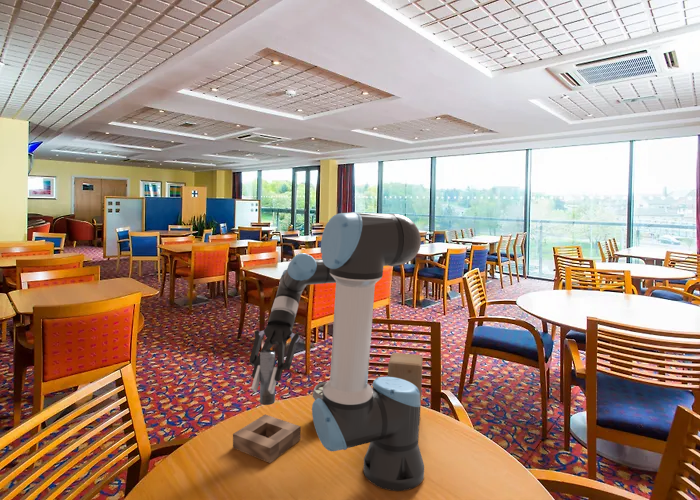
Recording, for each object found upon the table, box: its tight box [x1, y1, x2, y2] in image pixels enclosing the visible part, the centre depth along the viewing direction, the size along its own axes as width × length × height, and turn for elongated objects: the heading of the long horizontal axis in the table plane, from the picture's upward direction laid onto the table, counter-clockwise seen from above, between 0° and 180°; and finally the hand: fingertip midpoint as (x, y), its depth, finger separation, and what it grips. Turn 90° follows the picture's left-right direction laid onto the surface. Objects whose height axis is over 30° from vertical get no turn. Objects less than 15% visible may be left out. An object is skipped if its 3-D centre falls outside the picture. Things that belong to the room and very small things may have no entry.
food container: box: [312, 381, 328, 401], centre depth 131 cm, size 12×6×10 cm, turn 172°
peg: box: [259, 349, 276, 406], centre depth 115 cm, size 4×4×14 cm
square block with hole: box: [232, 414, 301, 464], centre depth 117 cm, size 13×13×4 cm
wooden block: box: [387, 352, 424, 424], centre depth 131 cm, size 10×10×20 cm
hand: (262, 391), depth 112 cm, fingers closed on peg, 4 cm apart
